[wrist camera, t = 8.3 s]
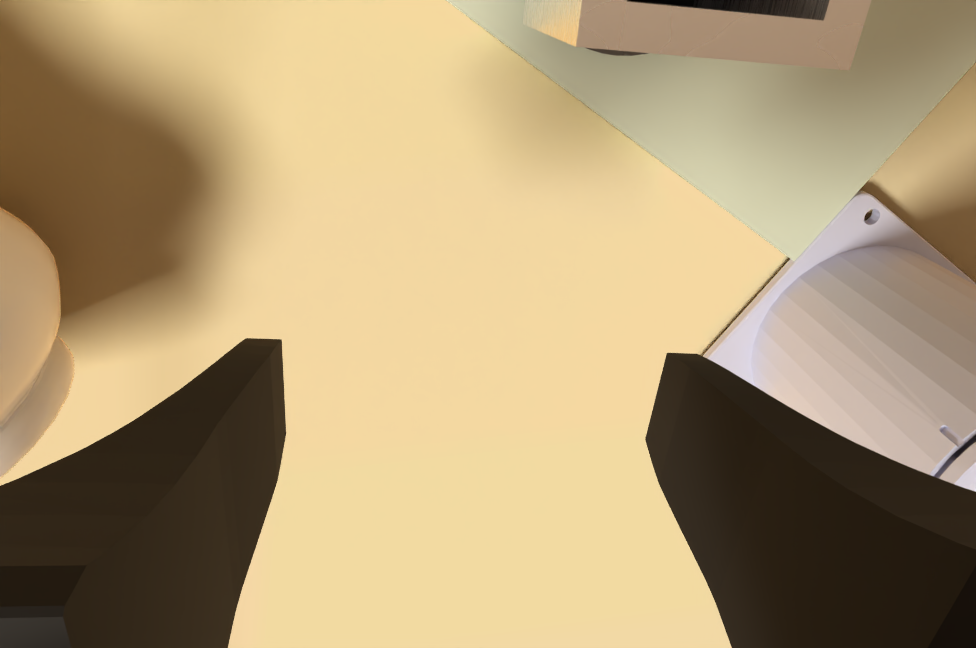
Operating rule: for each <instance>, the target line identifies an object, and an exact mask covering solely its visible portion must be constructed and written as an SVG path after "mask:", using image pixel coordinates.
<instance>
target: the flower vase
mask: <svg viewBox="0 0 976 648" xmlns="http://www.w3.org/2000/svg"><path fill="white" fill-rule="evenodd" d="M60 318H61V303H60V281H59V274H58V269H57V265H56V262H55V259H54V257H53V255H52V253H51V251H50V249H49V248H48V246H47V245H46V244H45V243H44V242H43V241H42V240H41V238H40V237H39V236H38V235H37V234H36V233H35V232H34V231H33V229H32V228H31V227H30V226H28V225H27V224H26V223H25V222H23V221H22V220H21V219H19V218H17V217H16V216H14V215H13V214H11V213H10V212H8V211H6V210H5V209H3V208H1V207H0V478H2V477H3V476H4V475H5V474H7V473H8V472H9V471H10V470H11V469H12V468H13V467H14V466H15V465H16V464H17V463H18V462H19V461H20V460H21V459H22V458H23V457H24V456H25V455H26V454H27V453H28V452H29V451H30V450H31V449H32V448H33V447H34V446H35V445H36V443H37V442H38V441H39V439H40V438H41V437H42V436H43V434H44V433H45V432H46V431H47V429H48V428H49V427H50V425H51V424H52V423H53V422H54V420H55V419H56V417H57V415H58V413H59V411H60V410H61V408H62V406H63V404H64V403H65V401H66V399H67V397H68V394H69V391H70V388H71V385H72V381H73V378H74V374H75V373H74V357H73V354H72V353H71V351H70V350H69V348H68V347H67V345H66V344H65V342H64V341H63V340H62V339H61V338H60V337H58V336H56V335H57V332H58V329H59V324H60Z"/></svg>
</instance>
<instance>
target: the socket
mask: <svg viewBox="0 0 976 648" xmlns="http://www.w3.org/2000/svg"><path fill="white" fill-rule="evenodd" d="M870 4H871V0H694V4H693V7H692V6H682V5H672V4H661V3H651V2H641V1H630V0H525V6H524V16H523V25H526V26H528V27H530V28H533V29H535V30H537V31H540V32H542V33H545V34H547V35H549V36H552V37H554V38H556V39H559V40H561V41H563V42H566V43H568V44H570V45H573V46H575V47H584V48H595V49H607V50H618V51H630V52H641V53H653V54H665V55H676V56H688V57H699V58H711V59H722V60H734V61H746V62H757V63H769V64H780V65H792V66H803V67H815V68H827V69H838V70H850V68H851V64H852V61H853V58H854V55H855V52H856V48H857V45H858V42H859V39H860V36H861V32H862V29H863V26H864V23H865V20H866V16H867V13H868V10H869V7H870Z"/></svg>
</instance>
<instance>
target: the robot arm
mask: <svg viewBox="0 0 976 648" xmlns="http://www.w3.org/2000/svg"><path fill="white" fill-rule="evenodd" d="M870 210H872V215H871V216H870V218H868V219H867V220H865V221H864V217H865V215H866V213H867V212H869V211H870ZM285 436H286V424H285V402H284V381H283V360H282V340H280V339H251V338H246V339H245V340H243V341H242V342H240V343H239V344H238V345H236V346H235V347H234V348H233V349H231V350H230V351H229V352H228V353H226V354H225V355H224V356H223V357H221V358H220V359H219V360H218V361H216V362H215V363H214V364H213V365H211V366H210V367H209V368H207V369H206V370H205V371H204V372H202V373H201V374H200V375H198V376H197V377H196V378H194V379H193V380H192V381H190V382H189V383H188V384H187V385H185V386H184V387H183V388H181V389H180V390H178V391H177V392H175V393H174V394H172V395H171V396H170V397H168V398H167V399H165V400H164V401H162V402H161V403H159V404H158V405H156V406H155V407H153V408H152V409H150V410H149V411H147V412H146V413H144V414H143V415H142V416H140V417H139V418H137V419H135V420H134V421H132V422H130V423H129V424H127V425H125V426H124V427H122V428H120V429H119V430H117V431H115V432H113V433H112V434H110V435H108V436H106V437H104V438H102V439H101V440H99V441H97V442H95V443H93V444H91V445H90V446H88V447H86V448H84V449H82V450H80V451H78V452H76V453H74V454H72V455H69V456H67V457H65V458H63V459H61V460H58V461H56V462H54V463H52V464H50V465H47V466H45V467H43V468H41V469H39V470H36V471H34V472H32V473H30V474H28V475H25V476H23V477H21V478H19V479H16V480H14V481H12V482H9V483H6V484H4V485H1V486H0V648H228V644H229V639H230V634H231V630H232V625H233V620H234V616H235V611H236V608H237V604H238V601H239V597H240V594H241V590H242V587H243V584H244V581H245V578H246V575H247V572H248V569H249V566H250V563H251V560H252V557H253V554H254V551H255V548H256V545H257V542H258V539H259V535H260V532H261V529H262V526H263V523H264V520H265V517H266V514H267V511H268V508H269V505H270V502H271V499H272V496H273V493H274V490H275V487H276V483H277V480H278V475H279V469H280V464H281V459H282V453H283V448H284V442H285ZM645 440H646V443H647V447H648V450H649V454H650V457H651V461H652V464H653V467H654V470H655V473H656V476H657V479H658V482H659V485H660V487H661V489H662V491H663V493H664V495H665V497H666V500H667V502H668V504H669V506H670V508H671V510H672V512H673V514H674V516H675V518H676V520H677V522H678V524H679V527H680V529H681V531H682V533H683V535H684V537H685V539H686V541H687V543H688V545H689V547H690V549H691V551H692V553H693V555H694V557H695V559H696V561H697V563H698V565H699V567H700V569H701V571H702V573H703V575H704V577H705V579H706V582H707V584H708V586H709V588H710V591H711V593H712V595H713V598H714V600H715V602H716V605H717V608H718V610H719V613H720V616H721V619H722V621H723V624H724V627H725V630H726V633H727V635H728V638H729V641H730V644H731V646H732V648H976V283H975V282H974V281H973V280H972V279H970V278H969V277H968V276H967V275H966V274H964V273H963V272H962V271H961V270H960V269H959V268H957V267H956V266H955V265H954V264H953V263H952V262H950V261H949V260H948V259H947V258H946V257H945V256H943V255H942V254H941V253H940V252H939V251H937V250H936V249H935V248H934V247H933V246H932V245H930V244H929V243H928V242H927V241H926V240H925V239H923V238H922V237H921V236H920V235H919V234H918V233H916V232H915V231H914V230H913V229H912V228H911V227H909V226H908V225H907V224H906V223H905V222H903V221H902V220H901V219H900V218H899V217H898V216H896V215H895V214H894V213H893V212H892V211H891V210H889V209H888V208H887V207H886V206H885V205H884V204H882V203H881V202H880V201H879V200H878V199H876V198H875V197H874V196H873V195H871V194H869V193H866V192H864V191H858V192H857V193H856V194H855V195H854V197H853V198H852V199H851V200H850V201H849V202H848V203H847V204H846V205H845V206H844V208H843V209H842V210H841V211H840V212H839V213H838V214H837V215H836V216H835V217H834V219H833V220H832V221H831V222H830V223H829V224H828V225H827V226H826V227H825V228H824V230H823V231H822V232H821V233H820V234H819V235H818V236H817V237H816V238H815V239H814V240H813V242H812V243H811V244H810V245H809V246H808V247H807V248H806V249H805V250H804V251H803V253H802V254H801V255H800V256H799V257H798V258H797V259H796V260H795V261H793V260H791V259H790V260H789V261H788V262H787V263H786V264H785V265H784V266H783V268H782V269H781V270H780V271H779V272H778V273H777V274H776V275H775V276H774V278H773V279H772V280H771V281H770V282H769V283H768V284H767V285H766V286H765V287H764V289H763V290H762V291H761V292H760V293H759V294H758V295H757V296H756V297H755V299H754V300H753V301H752V302H751V303H750V304H749V305H748V306H747V307H746V308H745V310H744V311H743V312H742V313H741V314H740V315H739V316H738V317H737V318H736V319H735V321H734V322H733V323H732V324H731V325H730V326H729V327H728V328H727V329H726V331H725V332H724V333H723V334H722V335H721V336H720V337H719V338H718V339H717V340H716V342H715V343H714V344H713V345H712V346H711V347H710V348H709V349H708V350H707V351H706V353H705V354H704V355H703V356H701V355H698V354H683V353H667V355H666V359H665V363H664V367H663V371H662V375H661V379H660V383H659V387H658V391H657V395H656V399H655V403H654V407H653V411H652V415H651V419H650V423H649V427H648V431H647V435H646V439H645Z"/></svg>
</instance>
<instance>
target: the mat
mask: <svg viewBox="0 0 976 648" xmlns="http://www.w3.org/2000/svg"><path fill="white" fill-rule="evenodd" d="M446 1H448V2H449V3H450V4H452V5H453V6H454V7H456V8H457V9H458V10H460V11H461V12H462V13H464V14H465V15H466V16H468V17H469V18H470V19H472V20H473V21H474V22H476V23H477V24H478V25H480V26H481V27H482V28H484V29H485V30H486V31H488V32H489V33H490V34H492V35H493V36H494V37H496V38H497V39H498V40H500V41H501V42H502V43H504V44H505V45H506V46H508V47H509V48H510V49H512V50H513V51H514V52H516V53H517V54H518V55H520V56H521V57H522V58H524V59H525V60H526V61H528V62H529V63H530V64H532V65H533V66H534V67H536V68H537V69H538V70H540V71H541V72H542V73H544V74H545V75H546V76H548V77H549V78H550V79H552V80H553V81H554V82H556V83H557V84H558V85H560V86H561V87H562V88H564V89H565V90H566V91H568V92H569V93H570V94H572V95H573V96H574V97H576V98H577V99H578V100H580V101H581V102H582V103H584V104H585V105H586V106H588V107H589V108H590V109H592V110H593V111H594V112H596V113H597V114H598V115H600V116H601V117H602V118H604V119H605V120H606V121H608V122H609V123H610V124H612V125H613V126H614V127H616V128H617V129H618V130H619V131H621V132H622V133H623V134H625V135H626V136H627V137H629V138H630V139H631V140H633V141H634V142H635V143H637V144H638V145H639V146H641V147H642V148H643V149H645V150H646V151H647V152H649V153H650V154H651V155H653V156H654V157H655V158H657V159H658V160H659V161H661V162H662V163H663V164H665V165H666V166H667V167H669V168H670V169H671V170H673V171H674V172H675V173H677V174H678V175H679V176H681V177H682V178H683V179H685V180H686V181H687V182H689V183H690V184H691V185H693V186H694V187H695V188H697V189H698V190H699V191H701V192H702V193H703V194H705V195H706V196H707V197H709V198H710V199H711V200H713V201H714V202H715V203H717V204H718V205H719V206H721V207H722V208H723V209H725V210H726V211H727V212H729V213H730V214H731V215H733V216H734V217H735V218H737V219H738V220H739V221H741V222H742V223H743V224H745V225H746V226H747V227H749V228H750V229H751V230H753V231H754V232H755V233H757V234H758V235H759V236H761V237H762V238H763V239H765V240H766V241H767V242H769V243H770V244H771V245H773V246H774V247H775V248H777V249H778V250H779V251H781V252H782V253H783V254H785V255H786V256H787V257H789V258H790V259H791V260H793V261H795V260H796V259H797V258H798V257H799V256H800V255H801V254H802V253H803V251H804V250H805V249H806V248H807V247H808V246H809V245H810V244H811V243H812V242H813V240H814V239H815V238H816V237H817V236H818V235H819V234H820V233H821V232H822V231H823V230H824V228H825V227H826V226H827V225H828V224H829V223H830V222H831V221H832V220H833V219H834V217H835V216H836V215H837V214H838V213H839V212H840V211H841V210H842V209H843V208H844V206H845V205H846V204H847V203H848V202H849V201H850V200H851V199H852V198H853V197H854V195H855V194H856V193H857V192H858V191H859V190H860V189H861V188H862V187H863V186H864V184H865V183H866V182H867V181H868V180H869V179H870V178H871V177H872V176H873V175H874V173H875V172H876V171H877V170H878V169H879V168H880V167H881V166H882V165H883V164H884V162H885V161H886V160H887V159H888V158H889V157H890V156H891V155H892V154H893V153H894V151H895V150H896V149H897V148H898V147H899V146H900V145H901V144H902V143H903V142H904V140H905V139H906V138H907V137H908V136H909V135H910V134H911V133H912V132H913V131H914V129H915V128H916V127H917V126H918V125H919V124H920V123H921V122H922V121H923V120H924V119H925V117H926V116H927V115H928V114H929V113H930V112H931V111H932V110H933V109H934V108H935V106H936V105H937V104H938V103H939V102H940V101H941V100H942V99H943V98H944V97H945V95H946V94H947V93H948V92H949V91H950V90H951V89H952V88H953V87H954V86H955V84H956V83H957V82H958V81H959V80H960V79H961V78H962V77H963V76H964V75H965V73H966V72H967V71H968V70H969V69H970V68H971V67H972V66H973V65H974V64H975V62H976V0H871V4H870V7H869V10H868V13H867V16H866V20H865V23H864V26H863V29H862V32H861V36H860V39H859V42H858V45H857V48H856V52H855V55H854V58H853V61H852V64H851V68H850V70H838V69H827V68H815V67H803V66H792V65H780V64H769V63H757V62H746V61H734V60H722V59H711V58H699V57H688V56H676V55H665V54H653V53H648V54H642V55H634V56H615V55H609V54H602V53H599V52H596V51H593V50H589V49H587V48H584V47H575V46H573V45H570V44H568V43H566V42H563V41H561V40H559V39H556V38H554V37H552V36H549V35H547V34H545V33H542V32H540V31H537V30H535V29H533V28H530V27H528V26H526V25H523V16H524V6H525V0H446Z"/></svg>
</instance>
